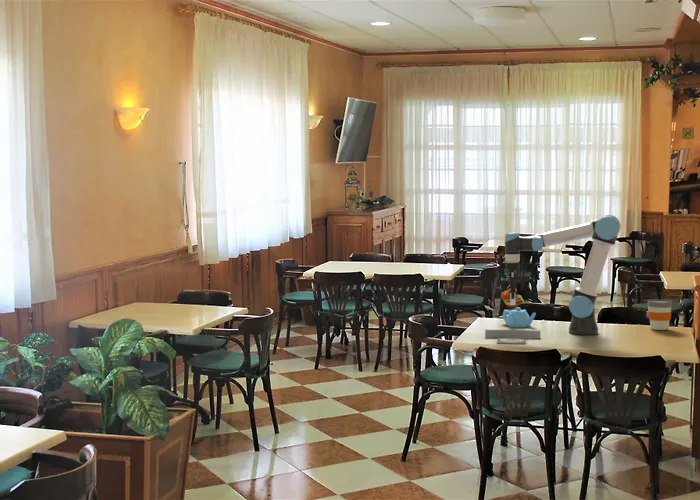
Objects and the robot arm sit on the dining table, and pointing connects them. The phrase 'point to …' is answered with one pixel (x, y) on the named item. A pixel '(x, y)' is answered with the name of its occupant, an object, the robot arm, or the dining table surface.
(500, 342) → the mat
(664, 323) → the reusable coffee cup
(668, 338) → the dining table surface
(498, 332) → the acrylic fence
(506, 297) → the cheeseburger
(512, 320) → the teapot
